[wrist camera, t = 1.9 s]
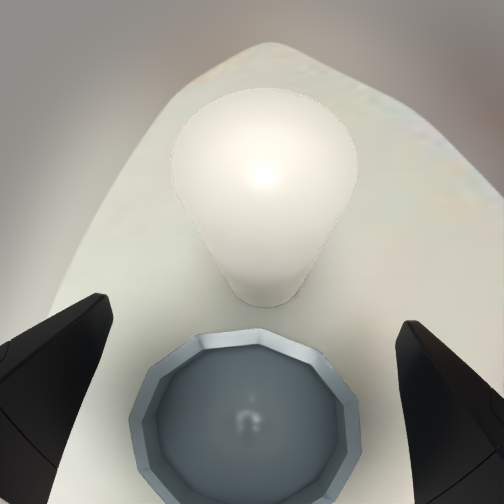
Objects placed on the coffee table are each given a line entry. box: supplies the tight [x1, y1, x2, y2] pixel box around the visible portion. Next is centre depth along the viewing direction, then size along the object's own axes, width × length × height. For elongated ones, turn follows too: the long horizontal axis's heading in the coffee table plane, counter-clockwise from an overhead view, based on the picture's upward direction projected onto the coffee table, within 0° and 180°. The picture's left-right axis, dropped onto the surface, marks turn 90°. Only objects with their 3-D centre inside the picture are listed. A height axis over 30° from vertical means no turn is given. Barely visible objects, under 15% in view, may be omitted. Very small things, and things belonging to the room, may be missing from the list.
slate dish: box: [128, 328, 362, 504], centre depth 16 cm, size 13×13×3 cm
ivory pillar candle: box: [170, 88, 358, 308], centre depth 14 cm, size 5×5×13 cm
